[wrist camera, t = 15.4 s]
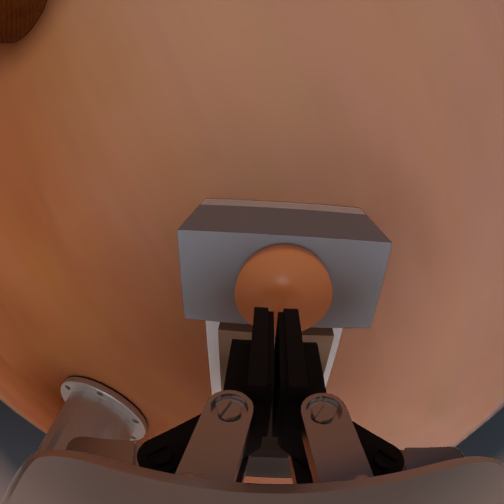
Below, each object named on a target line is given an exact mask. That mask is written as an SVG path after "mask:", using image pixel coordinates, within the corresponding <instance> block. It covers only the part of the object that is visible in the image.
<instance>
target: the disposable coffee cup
mask: <svg viewBox="0 0 504 504" xmlns="http://www.w3.org/2000/svg"><path fill="white" fill-rule="evenodd" d="M45 3H46V0H0V43H12V42H16V41H18V40H19V39H21V38H22V37H23V36H25V35H26V34H27V33H28V31H29V30H30V29H31V28H32V27H33V25H34V24H35V23H36V21H37V20H38V18H39V16H40V14H41V12H42V10H43V8H44V6H45Z"/></svg>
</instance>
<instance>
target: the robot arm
mask: <svg viewBox="0 0 504 504" xmlns="http://www.w3.org/2000/svg"><path fill="white" fill-rule="evenodd" d="M60 391H61V395H62V397H63V400H64V401H65V404H64V405H63V407H62V409H61V410H60V412H59V414H58V415H57V417H56V419H55V420H54V422H53V424H52V426H51V427H50V429H49V431H48V433H47V434H46V436H45V438H44V440H43V442H42V444H41V445H40V447H39V449H38V451H37V453H35V454H33V455H32V456H30V457H29V458H28V459H27V460H26V461H25V462H24V463H23V464H22V466H21V467H20V469H19V470H18V471H17V473H16V474H15V476H14V478H13V480H12V481H11V483H10V485H9V487H8V489H7V491H6V493H5V495H4V497H3V500H2V501H1V504H504V464H502V463H501V462H500V461H498V460H496V459H492V458H487V457H464V455H463V453H462V452H461V451H460V450H459V449H457V448H455V447H429V448H405V450H399V449H398V448H397V447H395V446H394V445H392V444H390V443H388V442H387V441H385V440H383V439H381V438H380V437H378V436H376V435H375V434H373V433H371V432H370V431H368V430H366V429H365V428H363V427H361V426H360V425H358V424H356V423H355V422H353V421H352V420H351V417H350V415H349V412H348V410H347V407H346V405H345V404H344V402H343V401H342V400H341V399H340V398H338V397H337V396H334V395H332V394H328V393H326V388H325V382H324V376H323V371H322V365H321V360H320V354H319V349H318V345H317V343H316V342H303V340H302V332H301V325H300V318H299V311H298V309H290V308H284V310H283V312H278V317H277V327H276V337H275V347H274V312H273V311H268V308H267V307H254V317H253V328H252V340H242V339H232V342H231V347H230V353H229V359H228V365H227V370H226V376H225V382H224V388H223V391H220V392H217V393H215V394H213V395H212V396H211V397H209V399H208V400H207V402H206V404H205V406H204V409H203V411H202V413H201V414H200V415H198V416H196V417H194V418H192V419H190V420H188V421H186V422H184V423H183V424H181V425H179V426H177V427H175V428H173V429H171V430H169V431H167V432H165V433H162V434H160V435H158V436H156V437H154V438H152V439H150V440H148V441H146V442H145V443H143V444H141V443H135V441H134V440H139V439H141V438H143V437H144V436H145V434H146V431H147V423H146V421H145V419H144V417H143V416H142V414H141V413H140V412H139V411H138V410H137V409H136V408H135V406H133V405H132V404H131V403H130V402H129V401H128V400H126V399H125V398H124V397H122V396H121V395H119V394H118V393H116V392H115V391H113V390H111V389H110V388H108V387H106V386H104V385H102V384H100V383H97V382H95V381H93V380H90V379H86V378H82V377H69V378H67V379H66V380H65V381H64V382H63V384H62V385H61V389H60ZM271 408H272V437H277V445H280V448H281V449H282V450H284V451H285V452H286V453H288V462H289V466H290V471H291V476H292V481H293V484H254V483H243V482H244V478H245V474H246V471H247V467H248V464H249V460H250V454H252V453H253V452H255V451H256V450H258V449H259V448H260V447H261V444H262V437H267V435H268V429H269V422H270V415H271Z"/></svg>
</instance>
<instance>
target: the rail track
mask: <svg viewBox="0 0 504 504" xmlns="http://www.w3.org/2000/svg"><path fill="white" fill-rule="evenodd" d="M177 234H178V248H179V261H180V273H181V284H182V294H183V304H184V313H185V318H186V319H196V320H205V321H206V334H207V347H208V358H209V369H210V380H211V390H212V395H213V394H215V393H217V392H220V391H221V378H220V361H219V342H218V327H219V324H220V322H228V323H240V324H249V323H248V322H247V321H246V320H245V319H244V318H243V316H242V315H241V314H240V312H239V310H238V308H237V306H236V302H235V295H234V293H235V286H236V281H237V277H238V274H239V271H240V269H241V267H242V265H243V264H244V263H245V261H246V260H247V259H248V258H249V257H250V256H251V255H253V254H254V253H255V252H257V251H259V250H261V249H263V248H266V247H268V246H272V245H278V244H290V245H296V246H300V247H302V248H305V249H307V250H309V251H311V252H312V253H314V254H315V255H316V256H317V257H318V258H319V259H320V260H321V261H322V262H323V264H324V265H325V267H326V269H327V271H328V274H329V277H330V280H331V284H332V292H333V294H332V301H331V304H330V306H329V309H328V311H327V312H326V314H325V315H324V316H323V318H322V319H321V320H320V321H319V322H317V323H316V324H315V325H313V326H312V327H317V328H332V329H333V333H334V338H333V342H332V346H331V350H330V354H329V357H328V361H327V365H326V368H325V372H324V375H323V376H324V382H325V388H326V385H327V382H328V378H329V375H330V372H331V369H332V365H333V362H334V358H335V355H336V351H337V348H338V344H339V340H340V337H341V333H342V329H343V328H370V325H371V322H372V319H373V316H374V312H375V309H376V305H377V302H378V298H379V294H380V291H381V287H382V283H383V279H384V275H385V271H386V267H387V263H388V258H389V254H390V249H391V245H392V242H391V241H390V240H389V239H388V238H387V237H386V236H385V235H384V234H383V232H382V231H381V230H380V229H379V228H378V227H377V226H376V225H375V224H374V223H373V222H372V221H371V220H370V219H369V217H368V216H367V215H366V214H365V213H364V212H363V211H362V210H361V209H360V208H354V207H343V206H331V205H319V204H305V203H290V202H274V201H255V200H233V199H205V200H204V201H203V202H202V203H201V204H200V205H199V206H198V207H197V209H196V210H195V211H194V212H193V213H192V214H191V215H190V216H189V217H188V218H187V220H186V221H185V222H184V223H183V224H182V225H181V226H180V227H179V229H178V230H177Z"/></svg>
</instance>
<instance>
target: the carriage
mask: <svg viewBox="0 0 504 504" xmlns="http://www.w3.org/2000/svg"><path fill="white" fill-rule="evenodd" d="M252 328H253V326H252V325H251V324H240V323H228V322H220V324H219V327H218V342H219V361H220V378H221V391H223V388H224V382H225V376H226V370H227V365H228V359H229V353H230V347H231V342H232V339H242V340H252ZM301 332H302V340H303V342H316V343H317V345H318V349H319V354H320V360H321V365H322V371H323V375H324V372H325V368H326V365H327V361H328V357H329V354H330V350H331V346H332V342H333V338H334V333H333V329H332V328H317V327H310V328H308V329H306V330H304V331H301ZM275 337H276V334H274V347H275ZM245 476H251V477H271V478H292V476H291V471H290V466H289V462H288V453H286V452H285V451H284V450H282V449H281V448H280V445H277V437H272V408H271V415H270V422H269V429H268V435H267V437H262V444H261V447H260V448H259V449H258V450H256V451H255V452H253V453H252V454H250V460H249V464H248V467H247V471H246V474H245Z"/></svg>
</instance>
